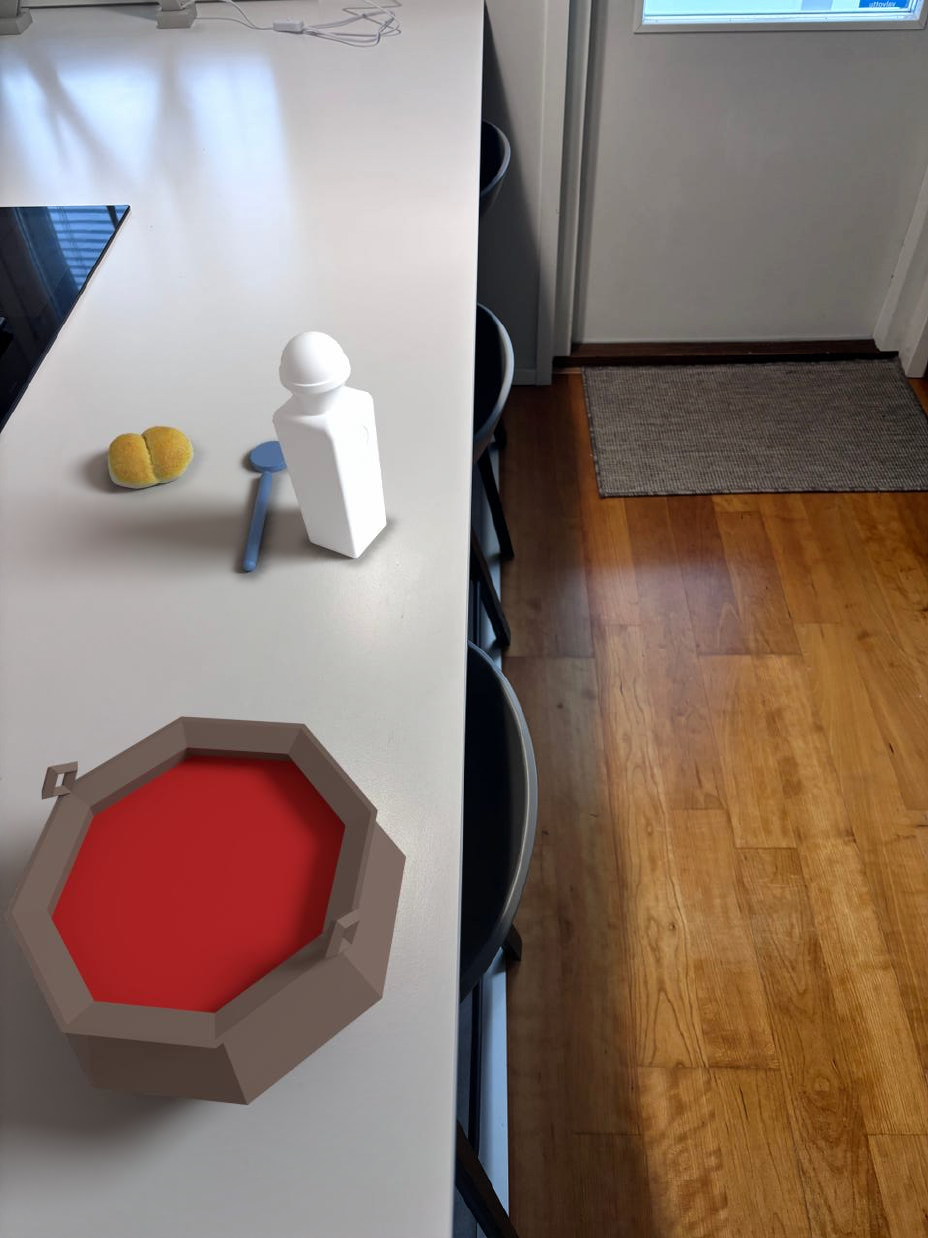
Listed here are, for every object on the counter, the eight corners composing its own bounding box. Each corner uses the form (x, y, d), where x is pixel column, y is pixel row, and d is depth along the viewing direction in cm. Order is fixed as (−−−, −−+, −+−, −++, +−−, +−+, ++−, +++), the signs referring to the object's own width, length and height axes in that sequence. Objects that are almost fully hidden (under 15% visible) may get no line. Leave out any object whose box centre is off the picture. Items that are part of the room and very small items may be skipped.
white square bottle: (357, 564, 91) (317, 366, 74) (302, 544, 93) (251, 347, 77) (394, 522, 94) (362, 325, 78) (340, 503, 97) (298, 308, 80)
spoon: (272, 572, 91) (270, 563, 90) (227, 575, 91) (224, 566, 90) (294, 446, 104) (292, 437, 103) (254, 448, 104) (252, 439, 103)
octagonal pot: (-2, 1028, 64) (-131, 925, 51) (223, 757, 77) (162, 624, 65) (286, 1229, 55) (213, 1163, 43) (483, 884, 68) (470, 759, 56)
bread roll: (201, 477, 101) (191, 447, 98) (116, 499, 99) (103, 470, 96) (189, 433, 106) (179, 403, 103) (108, 454, 105) (96, 424, 102)
